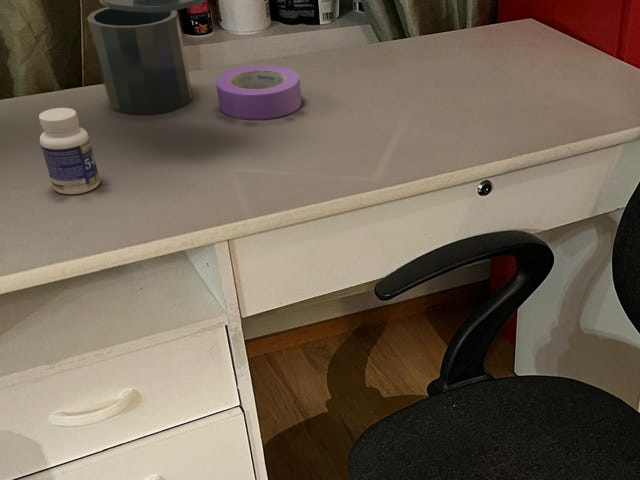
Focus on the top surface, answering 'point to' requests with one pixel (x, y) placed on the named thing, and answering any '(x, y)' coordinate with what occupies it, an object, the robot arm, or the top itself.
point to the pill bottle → (67, 152)
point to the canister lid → (149, 5)
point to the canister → (141, 60)
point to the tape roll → (259, 92)
